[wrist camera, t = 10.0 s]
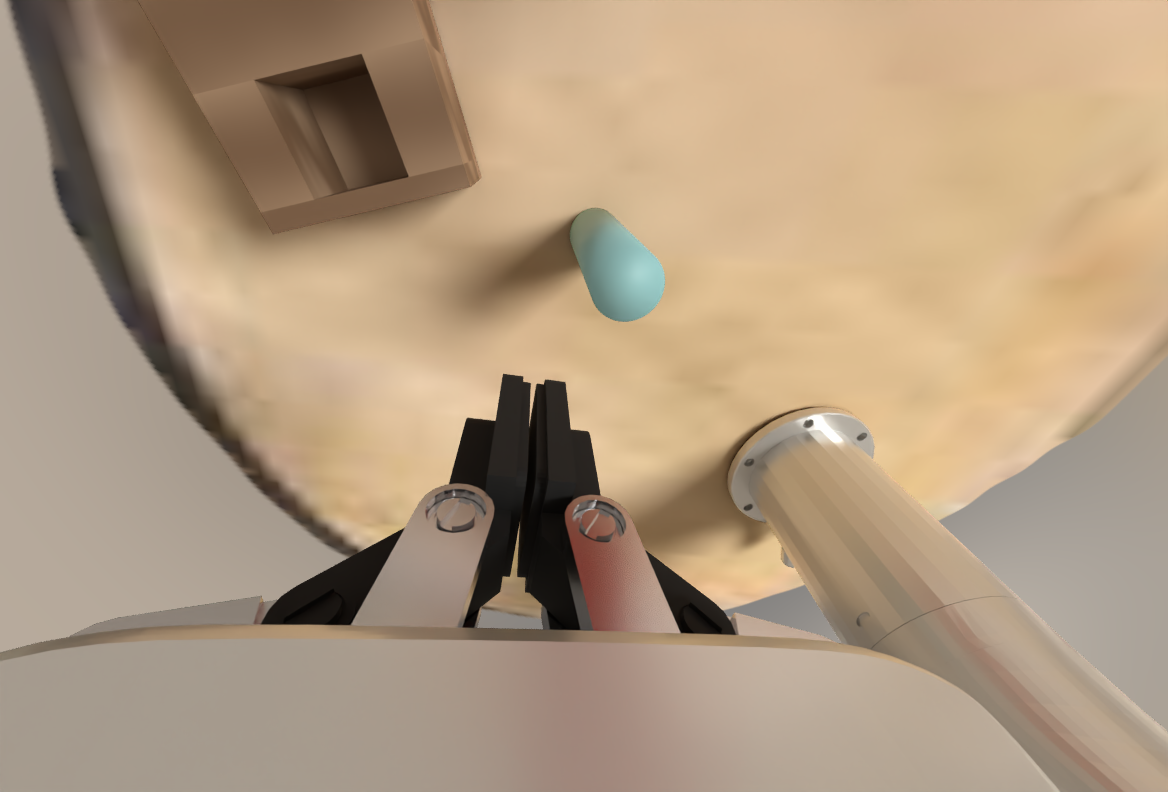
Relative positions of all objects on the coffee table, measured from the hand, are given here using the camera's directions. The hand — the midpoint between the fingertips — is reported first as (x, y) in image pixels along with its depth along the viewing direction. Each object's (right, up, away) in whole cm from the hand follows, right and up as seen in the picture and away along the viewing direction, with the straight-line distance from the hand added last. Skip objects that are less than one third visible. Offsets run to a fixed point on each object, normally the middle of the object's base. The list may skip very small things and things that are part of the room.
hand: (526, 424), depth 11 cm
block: (-9, +15, +9) cm, 20 cm away
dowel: (+2, +10, +14) cm, 17 cm away
